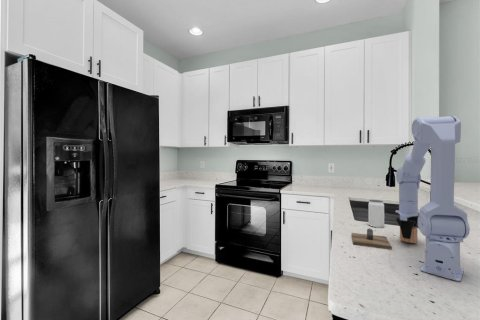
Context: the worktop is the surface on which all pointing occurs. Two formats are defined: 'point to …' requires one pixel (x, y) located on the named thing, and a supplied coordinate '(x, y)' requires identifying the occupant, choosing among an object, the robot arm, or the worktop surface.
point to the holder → (371, 240)
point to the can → (376, 213)
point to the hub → (413, 236)
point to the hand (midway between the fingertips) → (408, 236)
